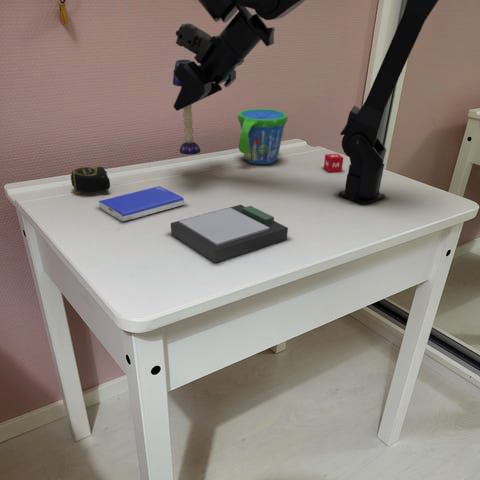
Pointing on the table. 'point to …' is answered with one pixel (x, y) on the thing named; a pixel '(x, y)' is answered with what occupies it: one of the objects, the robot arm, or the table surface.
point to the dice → (333, 162)
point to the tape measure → (90, 179)
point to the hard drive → (141, 203)
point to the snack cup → (261, 134)
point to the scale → (229, 232)
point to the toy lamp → (187, 123)
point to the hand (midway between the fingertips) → (179, 106)
